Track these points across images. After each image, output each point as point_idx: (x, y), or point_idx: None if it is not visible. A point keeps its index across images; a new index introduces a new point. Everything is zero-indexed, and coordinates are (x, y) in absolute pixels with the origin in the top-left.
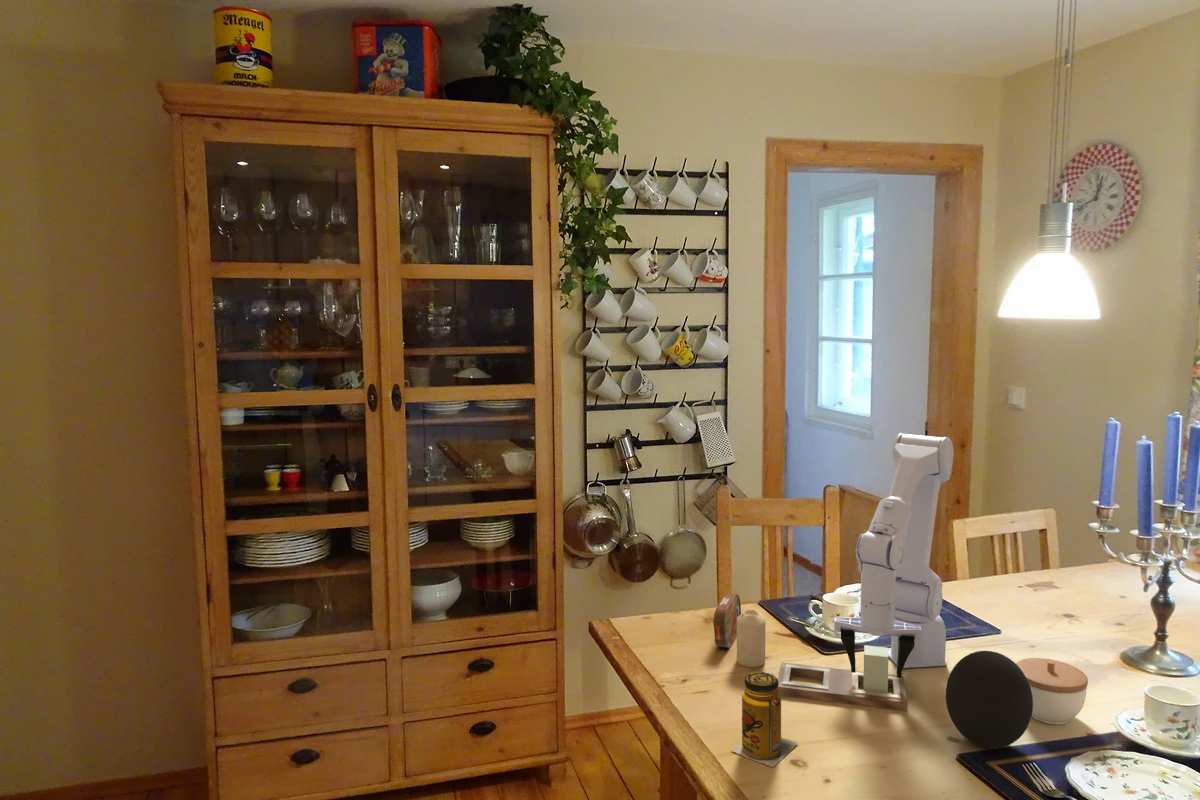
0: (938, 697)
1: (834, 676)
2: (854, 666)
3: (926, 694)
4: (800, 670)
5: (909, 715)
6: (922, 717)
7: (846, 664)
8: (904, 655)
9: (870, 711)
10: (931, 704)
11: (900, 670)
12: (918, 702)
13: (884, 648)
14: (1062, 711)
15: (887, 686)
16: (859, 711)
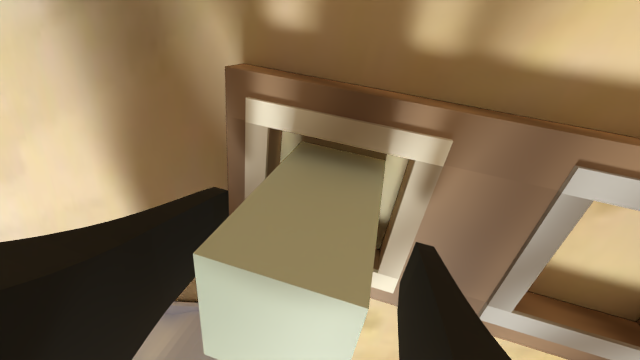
0: (155, 164)
1: (478, 274)
2: (428, 262)
3: (185, 180)
4: (612, 334)
5: (237, 25)
6: (193, 15)
7: (383, 344)
8: (73, 241)
9: (388, 40)
10: (170, 120)
11: (188, 200)
12: (206, 131)
13: (220, 350)
14: None
15: (283, 161)
16: (442, 33)
